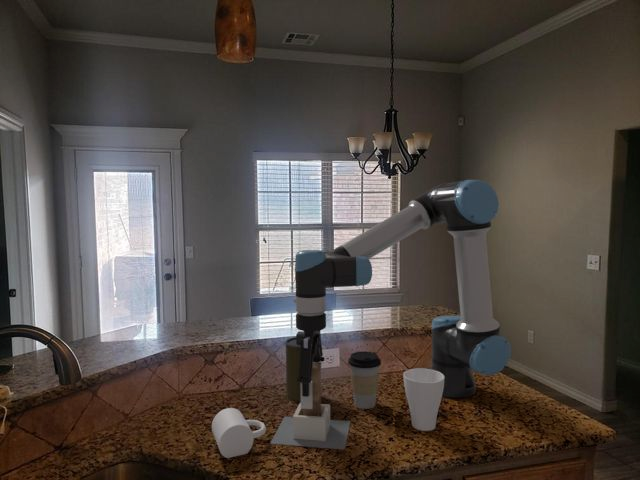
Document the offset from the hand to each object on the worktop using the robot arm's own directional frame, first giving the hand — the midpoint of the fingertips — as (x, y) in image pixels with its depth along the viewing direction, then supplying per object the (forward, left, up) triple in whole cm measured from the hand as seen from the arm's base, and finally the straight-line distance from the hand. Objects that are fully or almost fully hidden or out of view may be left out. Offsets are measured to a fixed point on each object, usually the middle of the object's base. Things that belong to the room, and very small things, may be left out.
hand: (311, 396), depth 109 cm
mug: (+16, +8, -10) cm, 21 cm away
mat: (0, 0, -10) cm, 10 cm away
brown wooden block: (0, 0, -8) cm, 8 cm away
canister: (+7, -22, -10) cm, 25 cm away
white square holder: (0, 0, -9) cm, 9 cm away
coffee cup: (-12, -18, -10) cm, 24 cm away
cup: (-28, -9, -10) cm, 31 cm away
